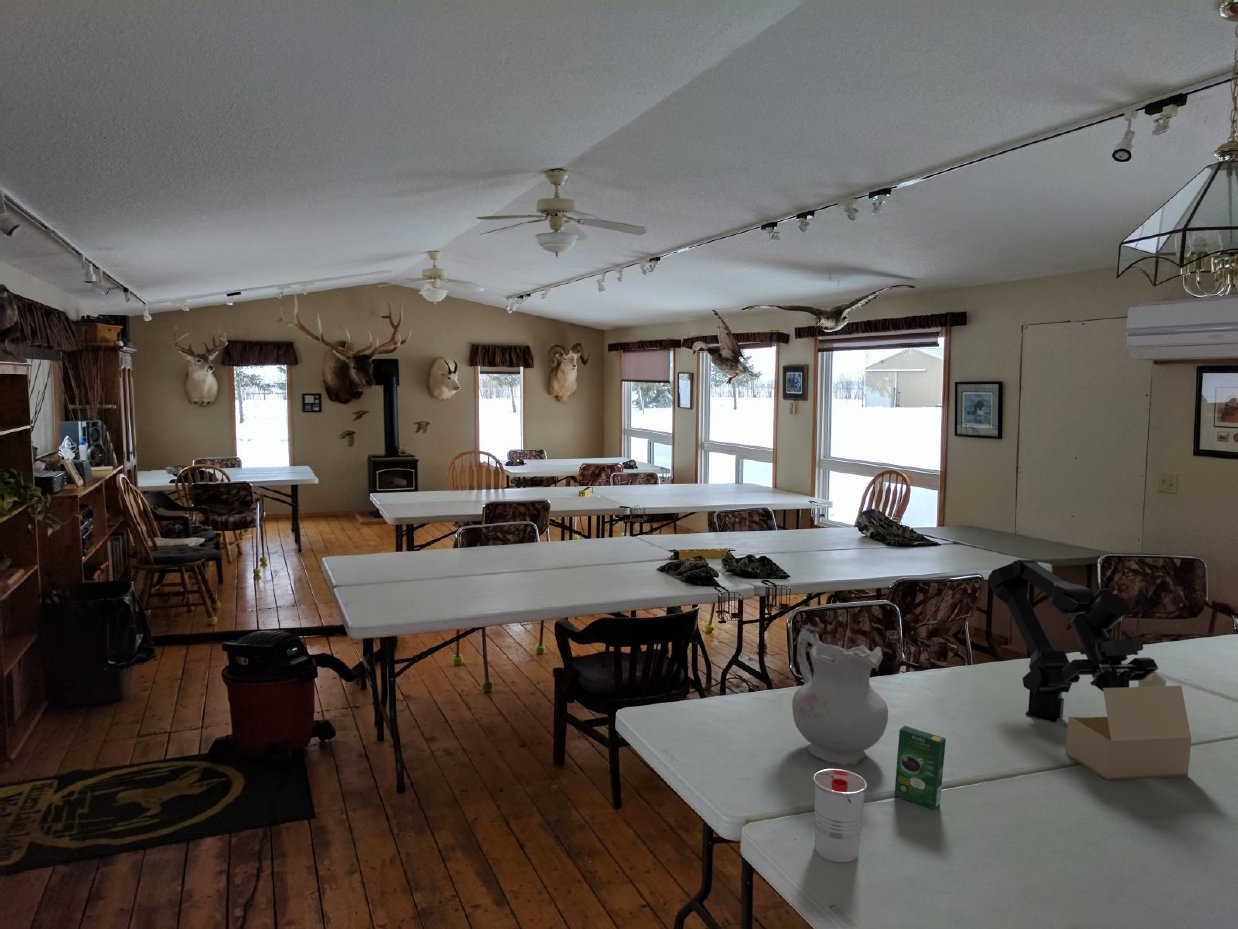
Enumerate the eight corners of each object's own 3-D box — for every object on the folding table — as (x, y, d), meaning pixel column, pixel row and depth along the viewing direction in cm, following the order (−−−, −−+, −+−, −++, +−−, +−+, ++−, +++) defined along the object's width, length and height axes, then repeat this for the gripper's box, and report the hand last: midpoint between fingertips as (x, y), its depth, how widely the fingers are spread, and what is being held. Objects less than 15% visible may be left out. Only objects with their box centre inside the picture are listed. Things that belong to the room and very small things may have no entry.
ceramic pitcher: (763, 752, 179) (763, 639, 175) (811, 719, 193) (812, 614, 189) (858, 787, 164) (861, 665, 160) (903, 749, 178) (906, 636, 174)
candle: (1167, 718, 199) (1170, 677, 198) (1141, 716, 200) (1144, 675, 199) (1157, 710, 205) (1160, 669, 204) (1132, 707, 206) (1135, 667, 205)
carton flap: (1102, 688, 168) (1104, 688, 168) (1179, 685, 171) (1181, 685, 170) (1111, 741, 166) (1112, 741, 165) (1189, 737, 168) (1191, 737, 168)
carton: (1065, 754, 178) (1068, 717, 178) (1142, 750, 181) (1145, 714, 180) (1106, 780, 167) (1109, 741, 166) (1187, 776, 169) (1191, 737, 168)
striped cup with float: (802, 835, 144) (805, 767, 142) (850, 834, 144) (854, 766, 143) (820, 869, 134) (824, 796, 133) (873, 867, 134) (877, 795, 133)
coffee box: (942, 806, 155) (947, 736, 154) (936, 811, 153) (941, 741, 151) (899, 791, 160) (903, 724, 159) (893, 796, 158) (897, 728, 157)
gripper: (1074, 622, 176) (1108, 693, 166) (1155, 620, 178) (1193, 690, 168) (1047, 647, 184) (1078, 716, 174) (1124, 645, 187) (1159, 713, 177)
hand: (1127, 708), depth 173 cm, fingers closed
